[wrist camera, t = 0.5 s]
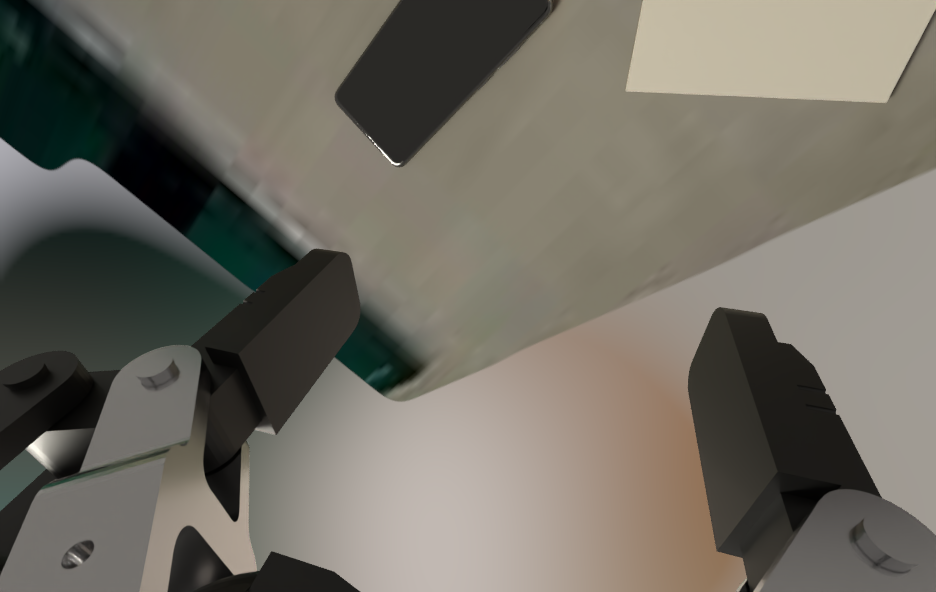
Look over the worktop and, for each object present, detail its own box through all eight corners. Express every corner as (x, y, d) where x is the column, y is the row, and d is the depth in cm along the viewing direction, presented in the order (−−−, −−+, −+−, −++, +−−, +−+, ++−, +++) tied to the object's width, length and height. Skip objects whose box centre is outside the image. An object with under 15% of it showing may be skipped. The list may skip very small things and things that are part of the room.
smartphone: (329, 98, 32) (476, -111, 23) (336, 95, 33) (481, -107, 24) (397, 172, 34) (558, 6, 25) (403, 168, 35) (560, 6, 26)
